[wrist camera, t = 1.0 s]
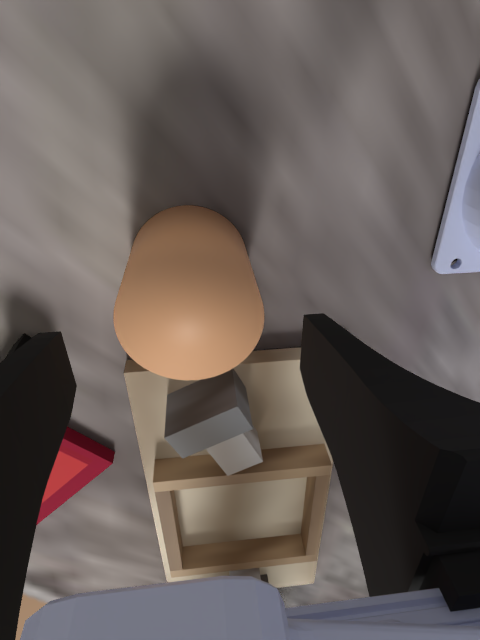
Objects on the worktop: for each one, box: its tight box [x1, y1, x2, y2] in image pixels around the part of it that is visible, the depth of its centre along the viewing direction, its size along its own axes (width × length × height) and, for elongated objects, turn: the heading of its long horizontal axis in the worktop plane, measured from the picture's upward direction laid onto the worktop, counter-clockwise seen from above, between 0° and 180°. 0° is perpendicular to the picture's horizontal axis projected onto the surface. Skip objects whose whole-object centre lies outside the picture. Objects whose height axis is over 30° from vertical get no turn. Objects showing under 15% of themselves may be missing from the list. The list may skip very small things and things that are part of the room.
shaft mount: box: [124, 347, 333, 588], centre depth 25 cm, size 11×22×4 cm, turn 1°
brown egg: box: [114, 205, 264, 380], centre depth 16 cm, size 5×5×5 cm
